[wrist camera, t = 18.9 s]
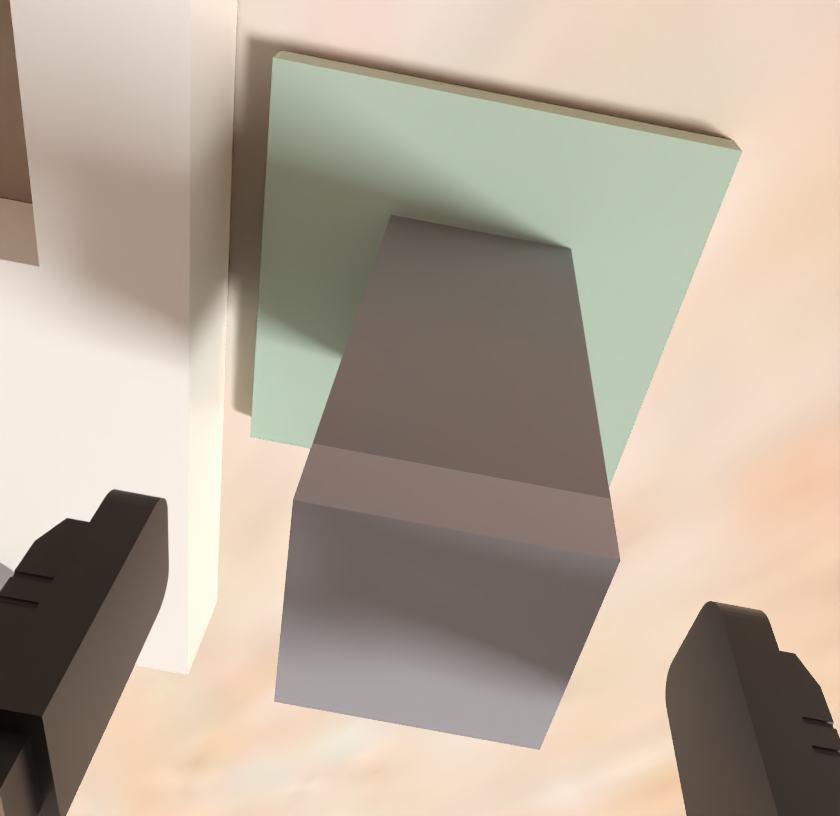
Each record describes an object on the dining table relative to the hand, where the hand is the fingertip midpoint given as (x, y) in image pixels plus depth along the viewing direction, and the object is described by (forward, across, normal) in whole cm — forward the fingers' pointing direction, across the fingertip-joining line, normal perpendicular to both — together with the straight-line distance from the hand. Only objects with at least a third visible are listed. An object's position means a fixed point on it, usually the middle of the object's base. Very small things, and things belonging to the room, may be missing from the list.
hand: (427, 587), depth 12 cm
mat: (+10, 0, 0) cm, 10 cm away
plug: (+9, 0, 0) cm, 9 cm away
